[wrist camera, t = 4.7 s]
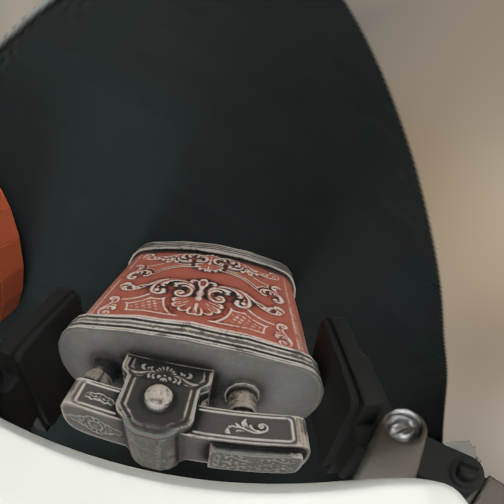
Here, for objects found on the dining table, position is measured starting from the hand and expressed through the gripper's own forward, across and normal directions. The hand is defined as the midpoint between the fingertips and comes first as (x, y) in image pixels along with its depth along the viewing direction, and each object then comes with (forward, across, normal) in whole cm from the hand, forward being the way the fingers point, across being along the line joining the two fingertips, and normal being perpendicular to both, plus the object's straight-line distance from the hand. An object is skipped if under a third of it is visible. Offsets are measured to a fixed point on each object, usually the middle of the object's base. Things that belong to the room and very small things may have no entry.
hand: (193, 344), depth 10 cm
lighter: (+6, 0, 0) cm, 6 cm away
